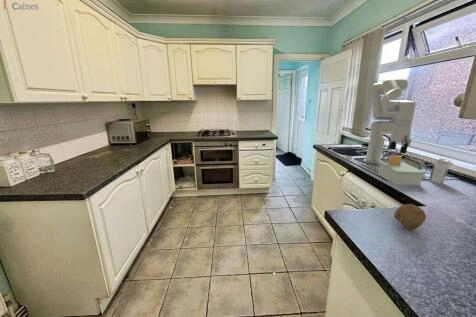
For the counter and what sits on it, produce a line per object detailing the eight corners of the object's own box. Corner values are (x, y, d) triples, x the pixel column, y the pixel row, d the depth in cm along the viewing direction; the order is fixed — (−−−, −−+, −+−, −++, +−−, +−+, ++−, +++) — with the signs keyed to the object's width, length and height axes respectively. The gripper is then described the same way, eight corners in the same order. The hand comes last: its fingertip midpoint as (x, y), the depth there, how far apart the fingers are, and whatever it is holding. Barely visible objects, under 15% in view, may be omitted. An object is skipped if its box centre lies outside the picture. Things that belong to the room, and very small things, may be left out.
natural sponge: (390, 228, 82) (396, 205, 79) (393, 218, 88) (398, 197, 85) (420, 238, 76) (428, 214, 73) (421, 227, 82) (428, 204, 80)
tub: (378, 175, 135) (380, 164, 133) (401, 176, 134) (403, 164, 132) (393, 186, 120) (396, 173, 117) (419, 186, 119) (423, 173, 116)
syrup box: (431, 180, 128) (437, 157, 124) (444, 183, 123) (451, 159, 119) (428, 182, 125) (434, 159, 121) (441, 185, 120) (448, 161, 116)
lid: (379, 165, 133) (381, 154, 131) (403, 165, 132) (406, 155, 130) (396, 175, 117) (398, 163, 115) (424, 175, 116) (427, 163, 114)
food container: (426, 177, 133) (430, 162, 130) (416, 177, 133) (420, 162, 130) (411, 170, 145) (415, 156, 142) (402, 170, 145) (406, 156, 142)
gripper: (387, 121, 132) (382, 148, 136) (407, 124, 115) (400, 154, 119) (400, 121, 131) (394, 148, 136) (421, 124, 114) (414, 154, 119)
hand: (397, 151), depth 128 cm, fingers open, 9 cm apart
